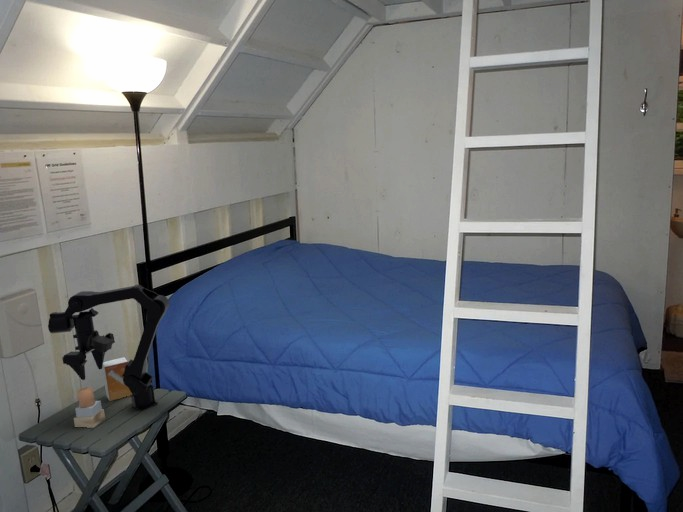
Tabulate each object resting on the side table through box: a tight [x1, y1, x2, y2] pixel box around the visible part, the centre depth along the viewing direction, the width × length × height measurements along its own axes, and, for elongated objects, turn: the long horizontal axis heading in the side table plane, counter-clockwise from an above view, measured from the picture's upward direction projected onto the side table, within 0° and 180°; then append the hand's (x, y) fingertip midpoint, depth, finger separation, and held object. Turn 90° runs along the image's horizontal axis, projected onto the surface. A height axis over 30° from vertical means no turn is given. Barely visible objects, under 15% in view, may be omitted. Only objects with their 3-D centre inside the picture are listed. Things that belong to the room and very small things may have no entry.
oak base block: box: [73, 408, 106, 429], centre depth 178 cm, size 6×6×4 cm
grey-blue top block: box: [75, 400, 103, 417], centre depth 178 cm, size 6×6×3 cm
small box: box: [101, 356, 132, 402], centre depth 198 cm, size 8×6×13 cm
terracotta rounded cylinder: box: [76, 387, 96, 408], centre depth 177 cm, size 4×4×5 cm
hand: (92, 374), depth 185 cm, fingers open, 9 cm apart
